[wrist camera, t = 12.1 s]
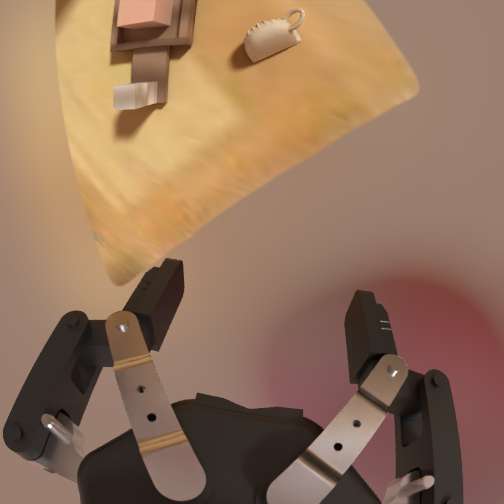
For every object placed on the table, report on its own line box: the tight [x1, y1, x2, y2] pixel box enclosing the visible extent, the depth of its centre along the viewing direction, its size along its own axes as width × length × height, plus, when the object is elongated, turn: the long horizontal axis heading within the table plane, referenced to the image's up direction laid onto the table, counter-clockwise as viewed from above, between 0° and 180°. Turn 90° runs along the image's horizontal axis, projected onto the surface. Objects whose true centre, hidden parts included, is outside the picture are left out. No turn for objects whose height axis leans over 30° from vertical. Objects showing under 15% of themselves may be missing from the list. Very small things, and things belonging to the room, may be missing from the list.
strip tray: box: [110, 0, 197, 110], centre depth 26 cm, size 19×11×7 cm, turn 174°
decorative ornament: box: [244, 8, 305, 63], centre depth 26 cm, size 4×8×5 cm, turn 117°
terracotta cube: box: [117, 0, 173, 30], centre depth 24 cm, size 5×5×5 cm
